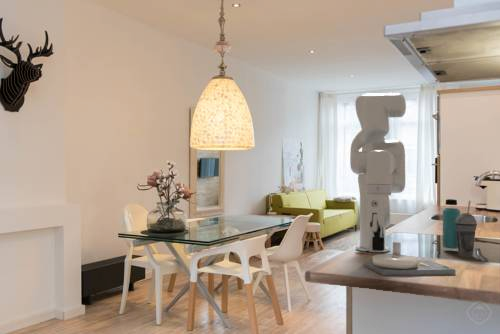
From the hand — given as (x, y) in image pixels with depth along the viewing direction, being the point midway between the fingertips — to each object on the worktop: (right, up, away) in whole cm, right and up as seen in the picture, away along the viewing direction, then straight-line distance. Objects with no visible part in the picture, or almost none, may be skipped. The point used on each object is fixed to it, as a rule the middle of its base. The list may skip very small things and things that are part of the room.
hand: (378, 250), depth 141 cm
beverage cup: (+38, -7, +25) cm, 46 cm away
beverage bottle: (+38, -7, +36) cm, 53 cm away
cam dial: (+4, -4, -2) cm, 6 cm away
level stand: (+8, -6, -2) cm, 10 cm away
